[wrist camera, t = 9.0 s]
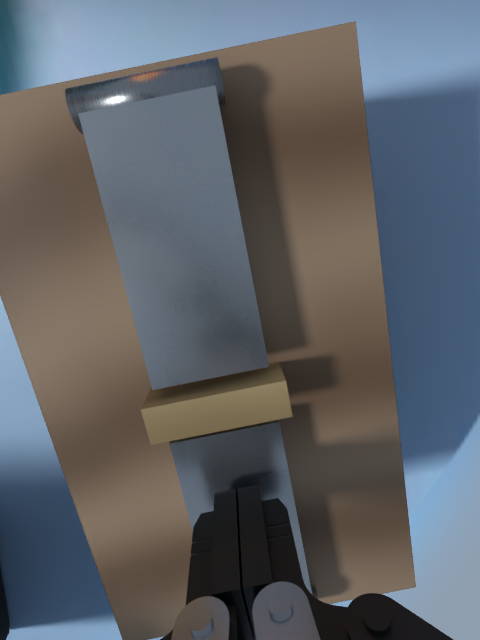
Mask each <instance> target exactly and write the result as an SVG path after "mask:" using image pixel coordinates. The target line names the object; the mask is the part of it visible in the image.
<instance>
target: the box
mask: <svg viewBox="0 0 480 640" xmlns="http://www.w3.org/2000/svg"><path fill="white" fill-rule="evenodd" d="M8 634H9V619H8V614H7V607H6V600H5V594H4V589H3V584H2V577H1V570H0V640H6V638H7V635H8Z"/></svg>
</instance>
